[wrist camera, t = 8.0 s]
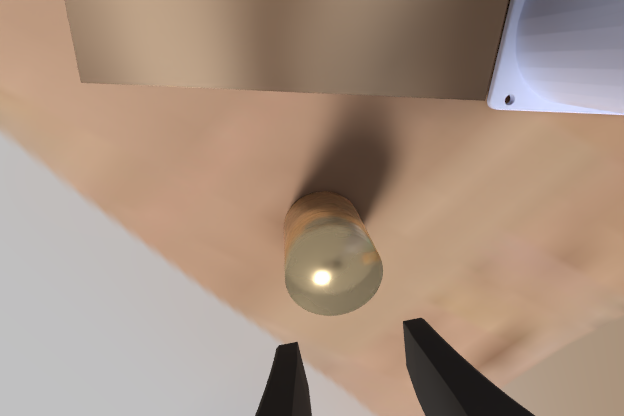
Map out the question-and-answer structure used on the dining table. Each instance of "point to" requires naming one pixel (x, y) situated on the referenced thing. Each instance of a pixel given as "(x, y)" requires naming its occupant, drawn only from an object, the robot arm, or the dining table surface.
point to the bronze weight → (329, 255)
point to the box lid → (292, 45)
